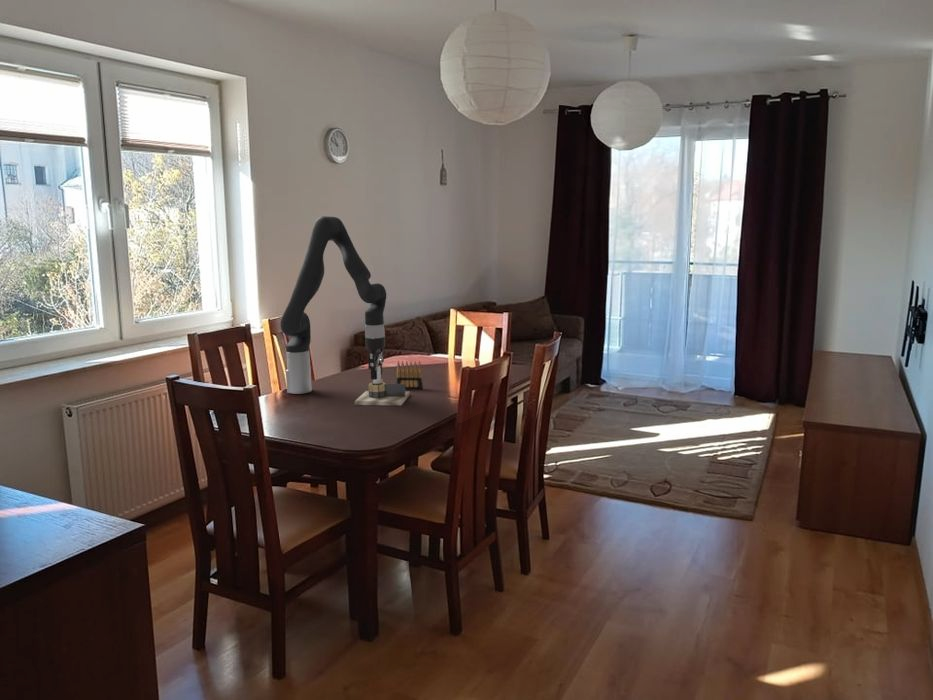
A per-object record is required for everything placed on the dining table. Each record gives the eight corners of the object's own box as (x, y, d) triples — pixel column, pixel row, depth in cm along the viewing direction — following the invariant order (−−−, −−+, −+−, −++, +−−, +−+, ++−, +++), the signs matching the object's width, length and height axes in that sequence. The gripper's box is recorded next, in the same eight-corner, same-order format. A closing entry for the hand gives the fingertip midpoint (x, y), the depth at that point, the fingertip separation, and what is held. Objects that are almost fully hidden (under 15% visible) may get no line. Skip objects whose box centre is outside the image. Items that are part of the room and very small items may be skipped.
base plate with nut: (355, 404, 280) (354, 388, 279) (366, 394, 296) (365, 378, 295) (401, 405, 278) (400, 388, 277) (409, 395, 293) (409, 379, 292)
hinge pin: (373, 397, 286) (371, 366, 283) (375, 395, 288) (373, 365, 286) (380, 397, 285) (379, 366, 283) (382, 395, 288) (381, 365, 286)
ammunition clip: (396, 389, 303) (395, 361, 301) (397, 388, 305) (396, 360, 303) (422, 389, 302) (421, 361, 300) (423, 388, 304) (422, 360, 302)
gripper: (370, 332, 290) (372, 372, 293) (360, 339, 276) (362, 380, 279) (388, 332, 289) (390, 373, 292) (380, 339, 275) (381, 381, 278)
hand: (376, 376), depth 285 cm, fingers open, 8 cm apart
